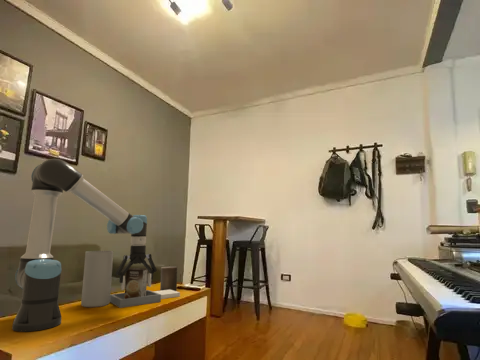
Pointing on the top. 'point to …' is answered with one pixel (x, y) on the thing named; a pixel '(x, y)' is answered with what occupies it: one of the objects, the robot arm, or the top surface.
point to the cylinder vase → (97, 278)
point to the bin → (134, 299)
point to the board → (168, 293)
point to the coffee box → (135, 282)
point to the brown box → (168, 278)
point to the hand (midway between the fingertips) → (136, 288)
